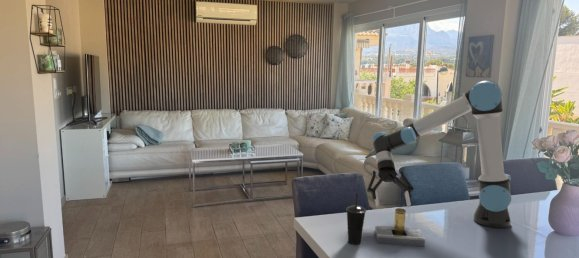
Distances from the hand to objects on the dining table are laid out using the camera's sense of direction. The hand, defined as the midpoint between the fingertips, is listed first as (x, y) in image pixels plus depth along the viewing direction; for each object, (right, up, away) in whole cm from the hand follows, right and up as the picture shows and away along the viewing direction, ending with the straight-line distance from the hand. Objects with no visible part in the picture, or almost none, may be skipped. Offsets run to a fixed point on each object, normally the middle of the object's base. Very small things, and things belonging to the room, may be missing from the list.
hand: (393, 206), depth 176 cm
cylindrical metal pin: (0, -12, -8) cm, 14 cm away
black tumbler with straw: (-19, -12, -12) cm, 25 cm away
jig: (0, -12, -8) cm, 14 cm away
